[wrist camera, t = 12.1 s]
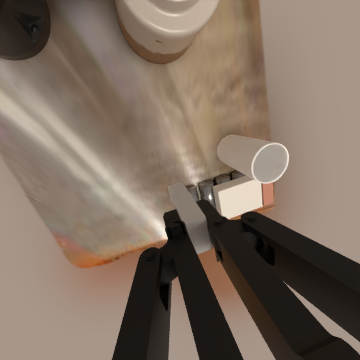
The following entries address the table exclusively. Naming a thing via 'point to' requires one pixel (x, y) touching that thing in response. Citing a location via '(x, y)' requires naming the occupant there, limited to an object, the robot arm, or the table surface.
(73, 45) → the table surface
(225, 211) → the board
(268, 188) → the block
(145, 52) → the vase
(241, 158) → the cup
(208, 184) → the rollers
